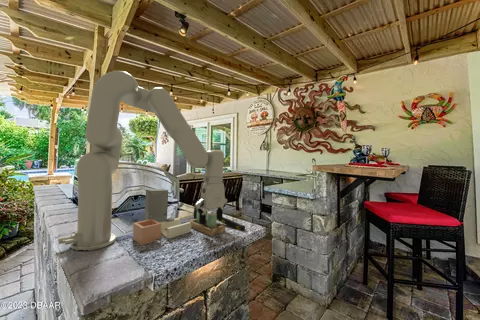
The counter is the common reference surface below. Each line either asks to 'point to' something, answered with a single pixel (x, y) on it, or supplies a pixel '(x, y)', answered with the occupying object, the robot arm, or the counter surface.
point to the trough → (205, 229)
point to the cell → (211, 219)
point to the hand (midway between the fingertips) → (211, 221)
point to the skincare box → (156, 204)
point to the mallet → (223, 221)
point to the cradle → (174, 227)
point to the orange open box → (146, 231)
